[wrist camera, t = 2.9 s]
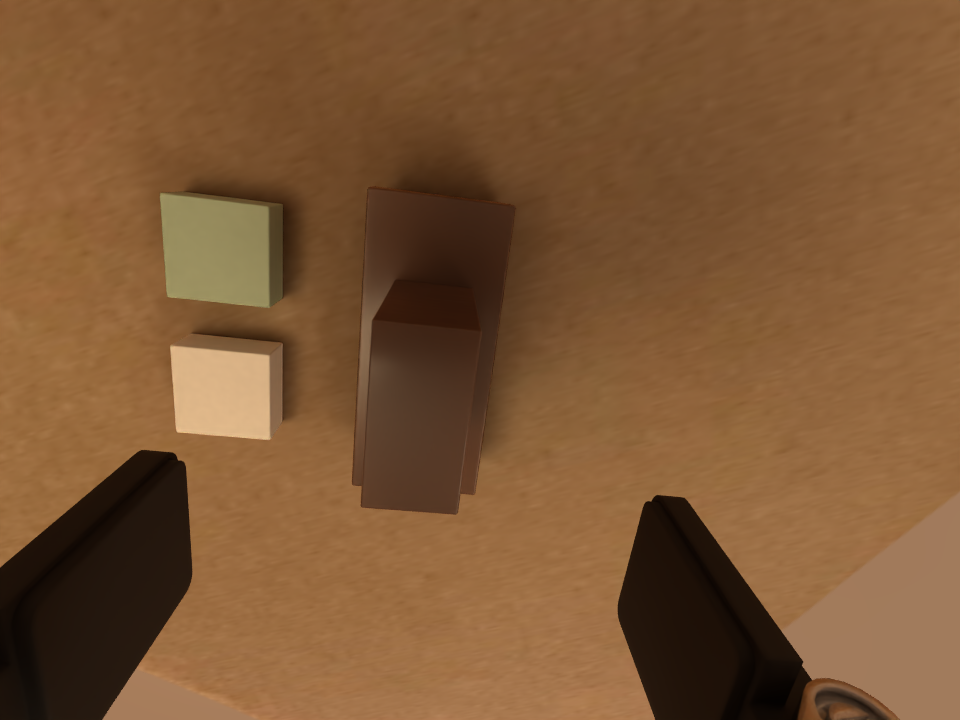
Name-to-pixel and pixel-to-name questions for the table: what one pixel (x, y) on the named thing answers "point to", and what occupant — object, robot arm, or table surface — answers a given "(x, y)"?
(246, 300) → the chip
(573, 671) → the table surface
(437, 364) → the brown inverted t block
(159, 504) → the robot arm
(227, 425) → the chip
